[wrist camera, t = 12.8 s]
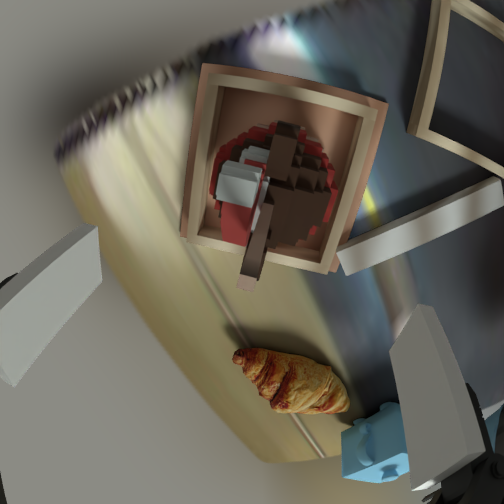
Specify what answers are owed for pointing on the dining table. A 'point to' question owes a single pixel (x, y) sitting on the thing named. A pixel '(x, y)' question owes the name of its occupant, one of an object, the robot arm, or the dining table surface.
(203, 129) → the square wooden frames
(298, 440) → the dining table surface
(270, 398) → the croissant
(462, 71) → the dining table surface
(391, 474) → the teapot
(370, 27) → the dining table surface
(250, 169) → the cake
